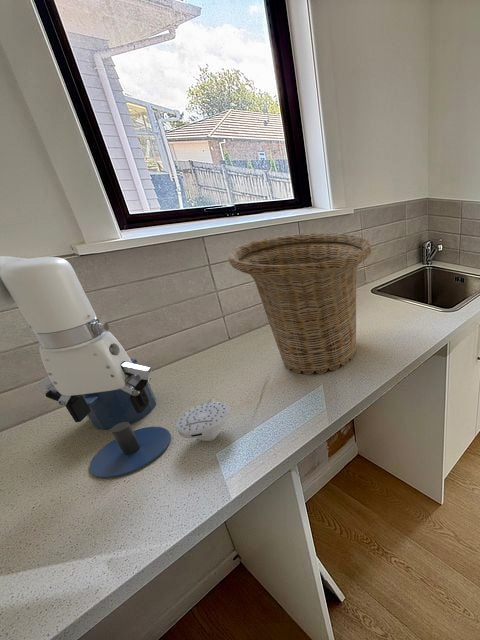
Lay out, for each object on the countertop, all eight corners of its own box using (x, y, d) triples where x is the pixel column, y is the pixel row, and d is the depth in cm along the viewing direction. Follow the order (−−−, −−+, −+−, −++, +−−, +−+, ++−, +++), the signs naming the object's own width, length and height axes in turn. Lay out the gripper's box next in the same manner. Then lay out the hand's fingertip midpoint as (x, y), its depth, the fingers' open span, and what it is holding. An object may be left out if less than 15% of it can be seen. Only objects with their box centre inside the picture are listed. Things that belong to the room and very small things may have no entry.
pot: (71, 445, 70) (46, 405, 65) (118, 394, 84) (101, 359, 80) (136, 435, 72) (116, 396, 67) (170, 388, 87) (156, 353, 82)
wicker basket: (315, 408, 80) (291, 275, 66) (231, 365, 97) (197, 251, 82) (400, 345, 107) (397, 241, 92) (323, 320, 123) (310, 228, 109)
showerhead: (233, 393, 74) (221, 424, 65) (241, 418, 77) (230, 451, 68) (185, 400, 71) (165, 433, 63) (195, 426, 75) (178, 461, 66)
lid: (75, 487, 61) (56, 458, 58) (115, 436, 72) (101, 410, 69) (154, 473, 63) (140, 445, 60) (182, 426, 74) (171, 400, 71)
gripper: (142, 317, 61) (174, 393, 68) (26, 328, 57) (73, 407, 65) (118, 337, 54) (156, 418, 61) (-15, 350, 50) (43, 435, 58)
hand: (114, 412), depth 63 cm, fingers open, 9 cm apart
